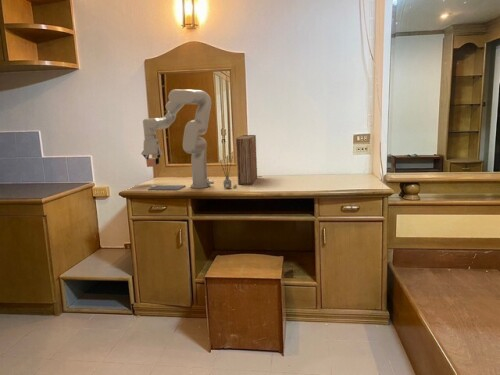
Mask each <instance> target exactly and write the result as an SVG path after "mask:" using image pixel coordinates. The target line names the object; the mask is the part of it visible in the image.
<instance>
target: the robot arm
mask: <svg viewBox="0 0 500 375" xmlns="http://www.w3.org/2000/svg"><path fill="white" fill-rule="evenodd" d="M185 105H198V107H197V108H196V111H195V115H194V119H192V120H190V121H187V123H186V124H185V127H184V130H183V136H182V137H183V138H182V149H183V151H184V152H185V153H186V154H191V157H190V160H191V176H192V184H189V185H190V188H191V189H192V188H193V189H204V188H209V187H211V185H213V184H215V181H214V180H210V179H209V178H208V166H207V148H208V143H207V140H206V139H205V138H204V137H201V136H203V135H205V134H206V133H207V131H208V127H209V121H210V115H211V114H210V113H211V108H212V98H211V96H210V95H209V94H208V93H207V92H206V91H204V90H202V89H178V88H177V89H176V88H175V89H172V90H170V92H169V93H168V101H167V103H166V104H165V110H166V111H167V113H165V115H164V116H163V117H153V118H144V119H143V120H142V124H143V125H142V126H143V136H144V139H143V150H142V152H141V153H140V155H142V156H143V157H144V159H145V160H146V159H149V158H150V155H154V156H155V158H156V165H157V164H159V165H160V157H161V156H162V155H163V154H164V153H163V151H162V150H161V148H160V142H159V139H158V137H159V136H158V134H157V133H156V131H157V130H166V129H168V128H169V127H170V126H171V125H172V124H173V123H174V122H175V120H176V118H177V115H178V112H179V111H180V110H181V109H182V108H183V107H184V106H185Z"/></svg>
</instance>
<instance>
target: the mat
mask: <svg viewBox="0 0 500 375" xmlns="http://www.w3.org/2000/svg"><path fill="white" fill-rule="evenodd" d="M184 188H186V185H185V184H184V185H176V184H175V185H171V184H169V185H168V184H167V185H164V184H163V185H162V184H161V185H155V186H152V187H150V188H148V191H179V190H181V189H184Z"/></svg>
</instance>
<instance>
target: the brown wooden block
mask: <svg viewBox="0 0 500 375" xmlns="http://www.w3.org/2000/svg"><path fill="white" fill-rule="evenodd" d="M256 135H257V134H251V135H250V134H245V135H240V136H237V137H235V146H236V164H237V184H238V185H239V186H240V185H243V184H244V185H247V184H248V185H250V184H251V185H253V184H254V183H255V182H256V180H257V179H258V166H257V164H258V163H257V138H256ZM238 185H237V186H238Z"/></svg>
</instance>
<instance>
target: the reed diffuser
mask: <svg viewBox="0 0 500 375" xmlns="http://www.w3.org/2000/svg"><path fill="white" fill-rule="evenodd" d="M231 158H234V157H233V155H232V156H231ZM218 159H219V162H220V164H221V167H222V170H223V172H224V175H225V176H224V177H225V179H224V180H223V188H226V189H227V188H232V187H233V189H237V188H238V185H237V184H236V183H235V184H234V185H233V186H232V180H231V179H230V177H229V175H230V173H229V172H230V170H231V168H229V167H232V166H231V165H232V161H233V159H231V160H230V164H228V163H229V162H228V159H229V158H228V155H227V156H226V160H227V161H226V160H225V159H223V161H224V163H226V165H224V167H225V169H224V167H223V163H222V161H221V159H220V157H218ZM228 165H229V167H228ZM228 168H229V170H228ZM225 170H226V171H225Z"/></svg>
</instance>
